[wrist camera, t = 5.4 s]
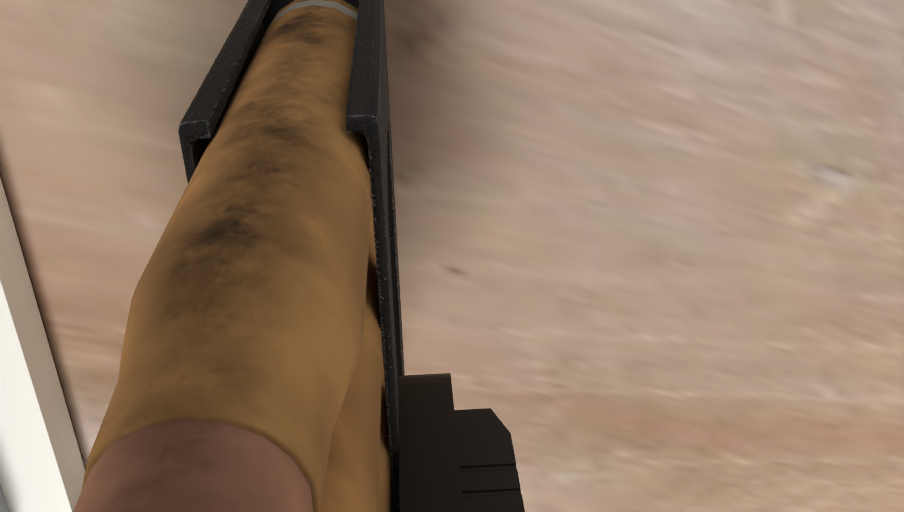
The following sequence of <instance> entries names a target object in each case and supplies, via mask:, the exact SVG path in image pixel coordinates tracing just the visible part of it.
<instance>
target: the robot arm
mask: <svg viewBox="0 0 904 512" xmlns="http://www.w3.org/2000/svg"><path fill="white" fill-rule="evenodd" d="M398 389H399V488H400V512H525V510H524V505H523V499H522V494H521V490H520V483H519V477H518V472H517V469H516V461H515V455H514V450H513V444H512V439H511V434H510V432H509V431H508V430H507V428H506V427H505V426H504V425H503V423H502V422H501V421H500V420H499V418H498V417H497V416H496V415H495V413H494V412H493V411H492V410H491V408H489V409H470V410H454V404H453V394H452V384H451V375H450V373H445V374H426V375H407V376H399V377H398Z"/></svg>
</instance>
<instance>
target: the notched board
mask: <svg viewBox="0 0 904 512" xmlns="http://www.w3.org/2000/svg"><path fill="white" fill-rule="evenodd" d="M84 475H85V468H84V464H83V461H82V457H81V454H80V451H79V447H78V444H77V440H76V437H75V433H74V430H73V426H72V423H71V419H70V416H69V413H68V409H67V406H66V402H65V399H64V395H63V392H62V388H61V385H60V381H59V378H58V375H57V371H56V368H55V364H54V361H53V357H52V354H51V350H50V347H49V344H48V340H47V337H46V333H45V330H44V326H43V323H42V319H41V316H40V312H39V309H38V306H37V302H36V299H35V295H34V292H33V288H32V285H31V281H30V278H29V274H28V271H27V268H26V264H25V261H24V257H23V254H22V250H21V247H20V243H19V240H18V236H17V233H16V230H15V226H14V223H13V219H12V216H11V212H10V209H9V205H8V202H7V198H6V195H5V192H4V188H3V185H2V181H1V178H0V512H73V510H74V508H75V506H76V503H77V501H78V498H79V496H80V494H81V491H82V486H83V480H84Z"/></svg>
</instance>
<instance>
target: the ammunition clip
mask: <svg viewBox="0 0 904 512" xmlns="http://www.w3.org/2000/svg"><path fill="white" fill-rule="evenodd" d="M178 132H179V137H180V143H181V148H182V154H183V159H184V164H185V170H186V175H187V181H188V185H187V187H186V189H185V191H184V193H183V195H182V197H181V199H180V201H179V203H178V205H177V207H176V209H175V211H174V213H173V215H172V217H171V219H170V221H169V223H168V225H167V227H166V229H165V231H164V233H163V235H162V237H161V239H160V241H159V243H158V245H157V247H156V249H155V251H154V253H153V255H152V257H151V259H150V260H149V262H148V264H147V266H146V268H145V270H144V272H143V274H142V276H141V278H140V280H139V282H138V285H137V287H136V290H135V292H134V295H133V297H132V301H131V306H130V311H129V316H128V322H127V327H126V332H125V338H124V343H123V349H122V355H121V363H120V371H119V378H118V383H117V386H116V388H115V391H114V393H113V396H112V399H111V401H110V404H109V406H108V409H107V411H106V414H105V417H104V419H103V422H102V424H101V427H100V430H99V432H98V435H97V437H96V440H95V443H94V445H93V448H92V450H91V453H90V456H89V458H88V461H87V464H86V470H85V475H84V480H83V486H82V491H81V494H80V496H79V498H78V501H77V503H76V506H75V508H74V510H73V512H400V488H399V389H398V377H399V376H405V375H404V357H403V339H402V321H401V303H400V285H399V268H398V250H397V232H396V214H395V196H394V178H393V160H392V142H391V124H390V107H389V89H388V71H387V53H386V35H385V17H384V0H249V1H248V2H247V4H246V6H245V8H244V10H243V11H242V13H241V15H240V17H239V19H238V20H237V22H236V24H235V26H234V28H233V29H232V31H231V33H230V35H229V37H228V38H227V40H226V42H225V44H224V46H223V47H222V49H221V51H220V53H219V55H218V56H217V58H216V60H215V62H214V64H213V65H212V67H211V69H210V71H209V73H208V74H207V76H206V78H205V80H204V82H203V83H202V85H201V87H200V89H199V91H198V92H197V94H196V96H195V98H194V99H193V101H192V103H191V105H190V107H189V108H188V110H187V112H186V114H185V116H184V117H183V119H182V121H181V123H180V125H179V131H178Z"/></svg>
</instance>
